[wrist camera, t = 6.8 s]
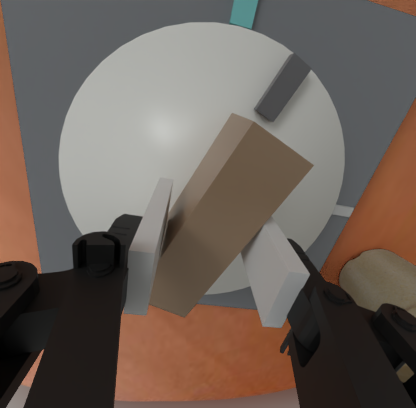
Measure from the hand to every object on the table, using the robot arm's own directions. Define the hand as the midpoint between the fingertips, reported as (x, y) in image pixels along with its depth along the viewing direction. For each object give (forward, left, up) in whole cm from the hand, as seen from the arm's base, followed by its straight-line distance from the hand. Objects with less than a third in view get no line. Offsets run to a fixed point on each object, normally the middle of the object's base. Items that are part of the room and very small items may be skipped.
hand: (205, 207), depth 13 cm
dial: (0, 0, -3) cm, 3 cm away
